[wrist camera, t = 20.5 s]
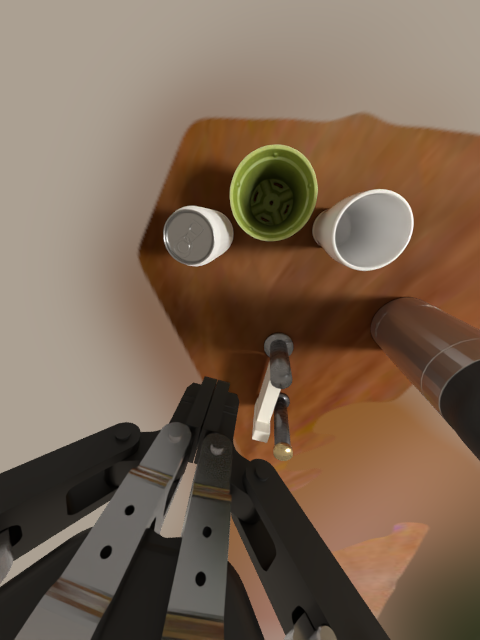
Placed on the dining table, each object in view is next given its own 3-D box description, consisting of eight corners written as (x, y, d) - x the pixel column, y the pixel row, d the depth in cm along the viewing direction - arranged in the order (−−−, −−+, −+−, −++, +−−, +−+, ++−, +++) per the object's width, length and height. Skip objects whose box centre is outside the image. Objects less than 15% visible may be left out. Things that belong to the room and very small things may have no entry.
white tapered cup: (309, 257, 36) (334, 278, 22) (303, 208, 34) (327, 199, 20) (356, 247, 35) (414, 263, 21) (354, 196, 33) (417, 177, 19)
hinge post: (296, 335, 41) (303, 368, 32) (289, 360, 43) (294, 397, 34) (267, 330, 41) (266, 360, 32) (261, 354, 43) (259, 390, 34)
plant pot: (251, 153, 32) (245, 129, 24) (317, 177, 32) (333, 163, 24) (230, 224, 36) (219, 224, 28) (289, 246, 36) (295, 253, 28)
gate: (268, 359, 41) (268, 386, 34) (282, 362, 41) (285, 391, 34) (254, 406, 45) (252, 439, 38) (267, 409, 45) (266, 442, 38)
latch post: (291, 394, 46) (298, 448, 35) (286, 409, 47) (292, 464, 36) (272, 390, 46) (273, 442, 35) (268, 405, 47) (268, 459, 37)
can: (184, 236, 37) (148, 242, 26) (208, 200, 35) (180, 189, 24) (217, 264, 38) (196, 280, 27) (242, 230, 36) (231, 233, 25)
